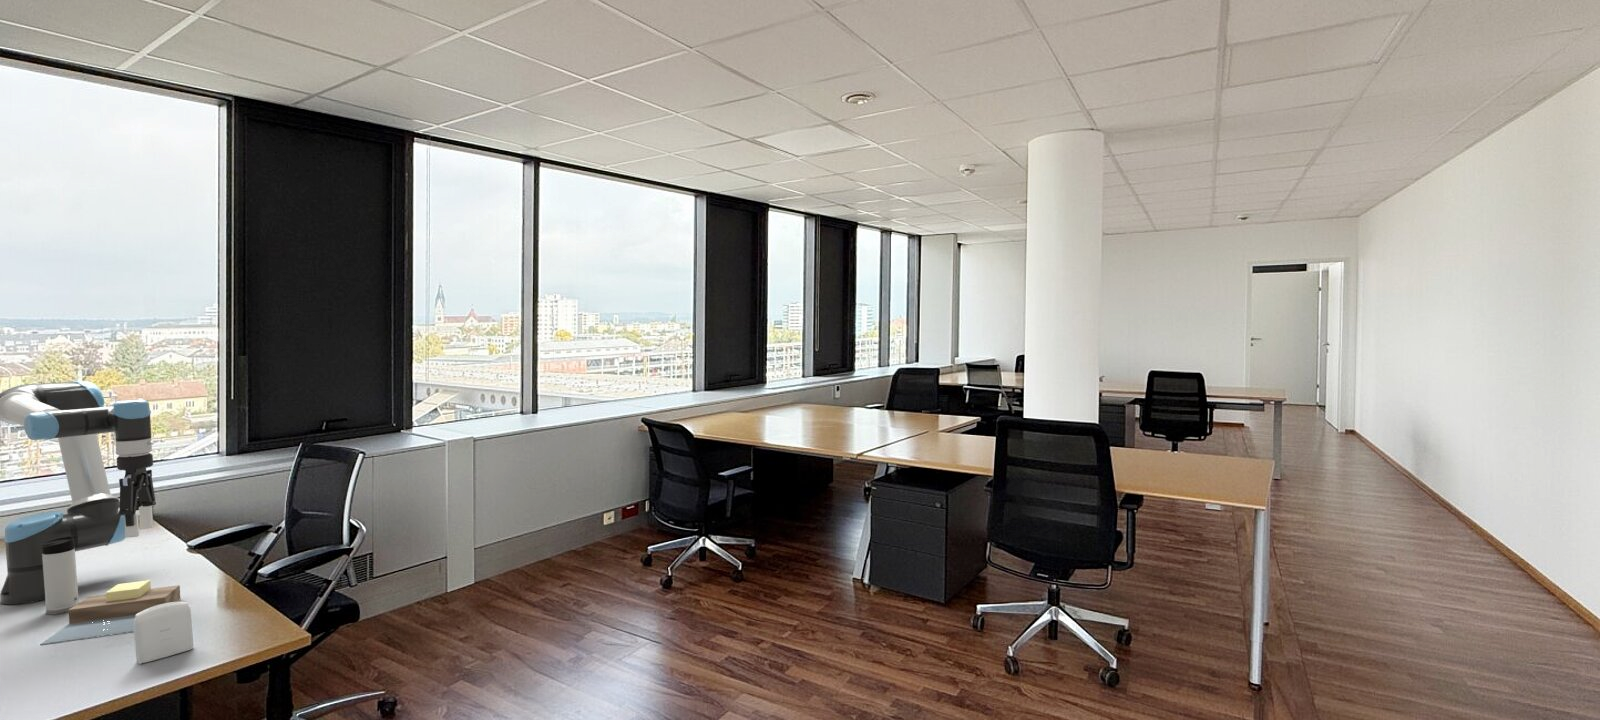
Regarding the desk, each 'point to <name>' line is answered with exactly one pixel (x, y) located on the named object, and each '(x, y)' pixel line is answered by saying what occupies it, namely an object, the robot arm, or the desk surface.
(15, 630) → the desk surface
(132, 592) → the note pad
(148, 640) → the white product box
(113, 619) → the rubber mat
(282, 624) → the desk surface
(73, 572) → the travel mug
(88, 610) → the brown wooden block
